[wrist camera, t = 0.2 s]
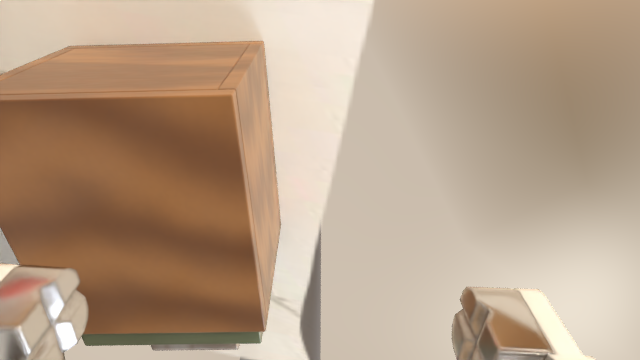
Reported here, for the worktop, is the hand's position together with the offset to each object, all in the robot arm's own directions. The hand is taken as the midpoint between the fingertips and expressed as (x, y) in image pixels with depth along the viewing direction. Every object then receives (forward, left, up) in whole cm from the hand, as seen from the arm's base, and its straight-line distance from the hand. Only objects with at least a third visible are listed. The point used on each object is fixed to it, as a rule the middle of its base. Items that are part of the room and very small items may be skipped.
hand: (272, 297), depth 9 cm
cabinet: (-7, +8, -21) cm, 23 cm away
